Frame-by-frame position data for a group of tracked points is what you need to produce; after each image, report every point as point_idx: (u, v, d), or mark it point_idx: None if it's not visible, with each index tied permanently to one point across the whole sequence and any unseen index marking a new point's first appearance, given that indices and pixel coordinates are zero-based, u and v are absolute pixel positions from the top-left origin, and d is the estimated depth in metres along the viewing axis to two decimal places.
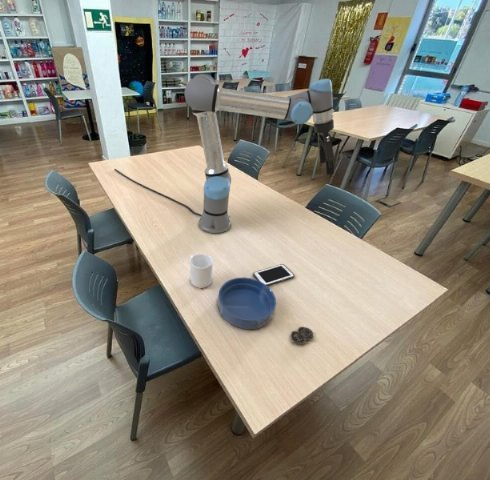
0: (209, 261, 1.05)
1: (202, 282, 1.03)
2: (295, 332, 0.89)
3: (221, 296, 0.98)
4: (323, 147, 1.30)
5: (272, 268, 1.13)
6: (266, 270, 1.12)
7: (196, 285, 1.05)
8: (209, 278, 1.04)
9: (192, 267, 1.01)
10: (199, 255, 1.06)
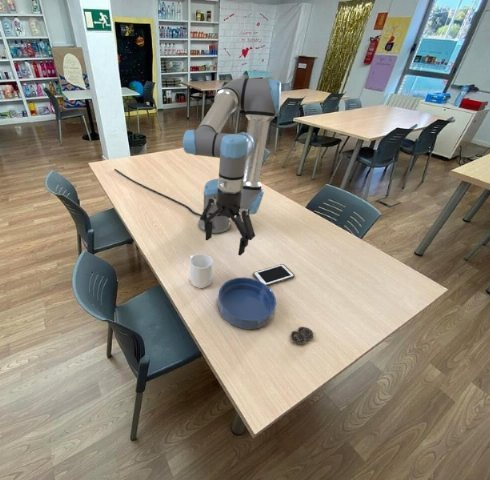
0: (209, 261, 1.05)
1: (202, 282, 1.03)
2: (295, 332, 0.89)
3: (221, 296, 0.98)
4: None
5: (272, 268, 1.13)
6: (266, 270, 1.12)
7: (196, 285, 1.05)
8: (209, 278, 1.04)
9: (192, 267, 1.01)
10: (199, 255, 1.06)
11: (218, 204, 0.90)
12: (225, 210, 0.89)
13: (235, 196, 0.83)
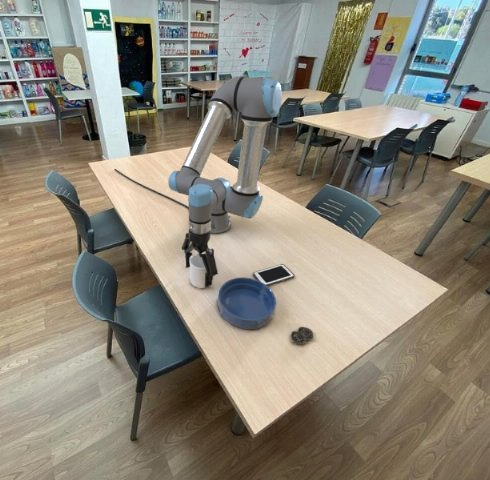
0: None
1: (202, 282, 1.03)
2: (295, 332, 0.89)
3: (221, 296, 0.98)
4: None
5: (272, 268, 1.13)
6: (266, 270, 1.12)
7: (196, 285, 1.05)
8: None
9: (192, 267, 1.01)
10: None
11: None
12: (196, 246, 1.00)
13: (200, 237, 0.93)
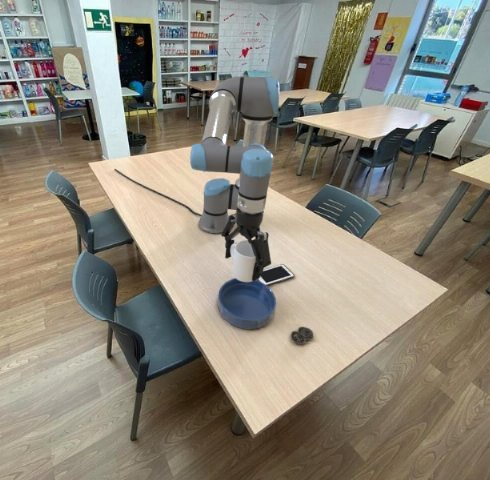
0: None
1: (248, 275, 0.84)
2: (295, 332, 0.89)
3: (221, 296, 0.98)
4: None
5: (272, 268, 1.13)
6: (266, 270, 1.12)
7: (241, 279, 0.86)
8: None
9: (238, 256, 0.82)
10: (244, 242, 0.87)
11: (237, 222, 0.82)
12: (244, 230, 0.81)
13: (253, 217, 0.75)
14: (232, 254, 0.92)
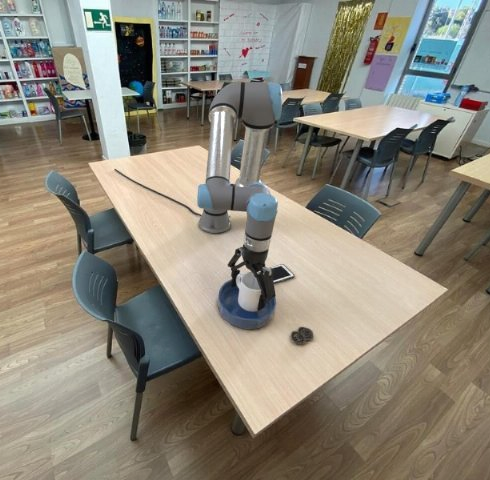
0: None
1: (254, 305, 0.89)
2: (295, 332, 0.89)
3: (221, 296, 0.98)
4: None
5: (272, 268, 1.13)
6: None
7: (247, 308, 0.91)
8: None
9: (244, 289, 0.87)
10: (249, 274, 0.92)
11: None
12: (249, 264, 0.86)
13: (259, 255, 0.80)
14: (238, 283, 0.96)
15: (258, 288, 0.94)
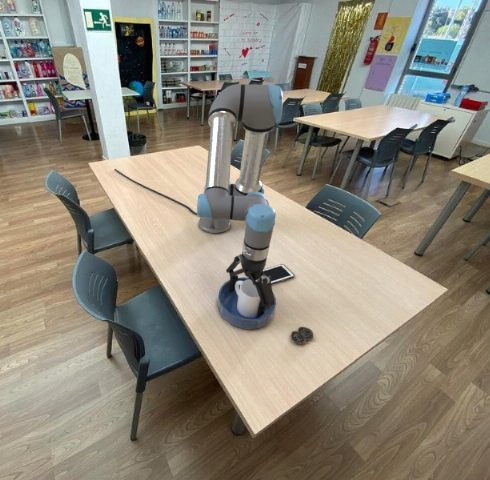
0: None
1: (253, 312, 0.91)
2: (295, 332, 0.89)
3: (221, 296, 0.98)
4: None
5: (272, 268, 1.13)
6: (266, 270, 1.12)
7: (245, 315, 0.93)
8: None
9: (243, 296, 0.89)
10: (248, 281, 0.94)
11: None
12: (248, 272, 0.88)
13: (257, 264, 0.82)
14: (237, 290, 0.98)
15: (257, 295, 0.96)
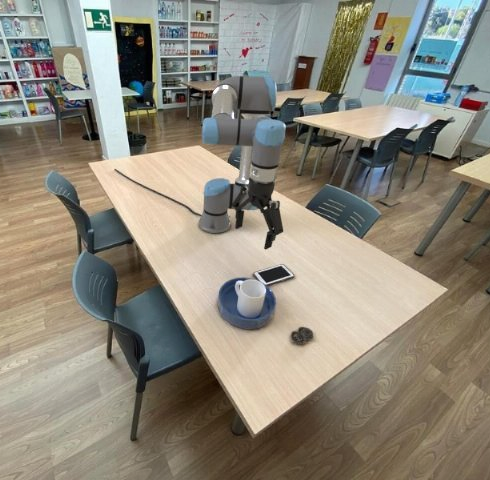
0: (260, 288, 0.94)
1: (253, 312, 0.91)
2: (295, 332, 0.89)
3: (221, 296, 0.98)
4: None
5: (272, 268, 1.13)
6: (266, 270, 1.12)
7: (245, 315, 0.93)
8: (261, 308, 0.92)
9: (243, 296, 0.89)
10: (248, 281, 0.94)
11: (249, 193, 0.86)
12: (255, 200, 0.85)
13: (265, 186, 0.78)
14: (237, 290, 0.98)
15: (257, 295, 0.96)
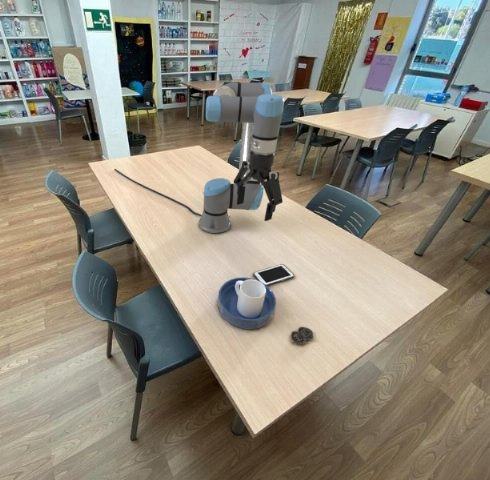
0: (260, 288, 0.94)
1: (253, 312, 0.91)
2: (295, 332, 0.89)
3: (221, 296, 0.98)
4: None
5: (272, 268, 1.13)
6: (266, 270, 1.12)
7: (245, 315, 0.93)
8: (261, 308, 0.92)
9: (243, 296, 0.89)
10: (248, 281, 0.94)
11: (250, 167, 0.91)
12: (256, 173, 0.90)
13: (265, 157, 0.84)
14: (237, 290, 0.98)
15: (257, 295, 0.96)
